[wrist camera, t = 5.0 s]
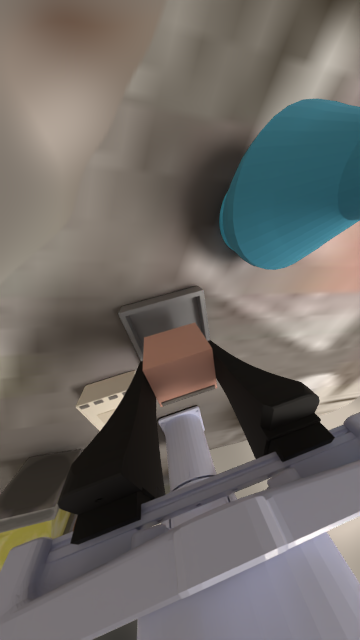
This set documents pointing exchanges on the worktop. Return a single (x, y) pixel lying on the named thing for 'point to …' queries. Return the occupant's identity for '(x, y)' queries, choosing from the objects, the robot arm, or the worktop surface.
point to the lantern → (35, 502)
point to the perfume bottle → (295, 184)
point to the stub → (178, 364)
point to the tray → (164, 315)
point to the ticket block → (103, 398)
